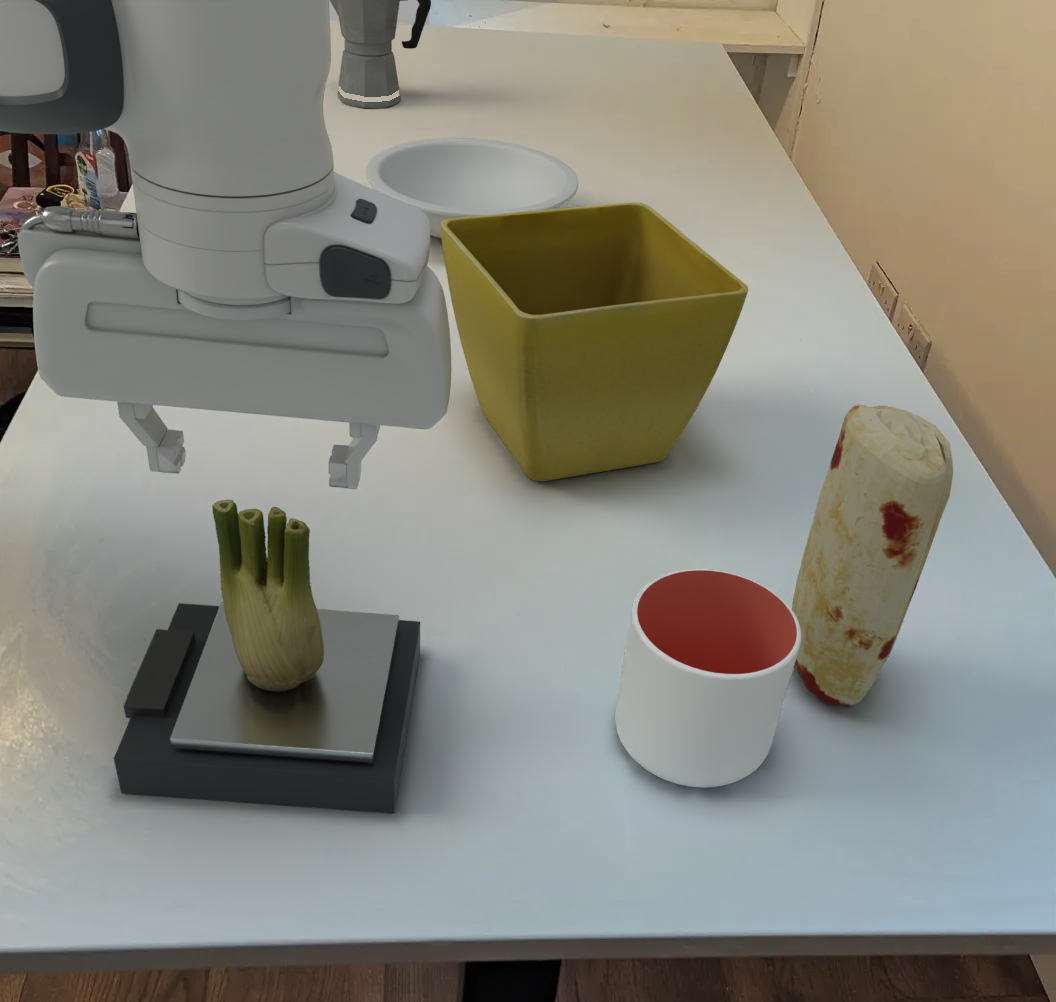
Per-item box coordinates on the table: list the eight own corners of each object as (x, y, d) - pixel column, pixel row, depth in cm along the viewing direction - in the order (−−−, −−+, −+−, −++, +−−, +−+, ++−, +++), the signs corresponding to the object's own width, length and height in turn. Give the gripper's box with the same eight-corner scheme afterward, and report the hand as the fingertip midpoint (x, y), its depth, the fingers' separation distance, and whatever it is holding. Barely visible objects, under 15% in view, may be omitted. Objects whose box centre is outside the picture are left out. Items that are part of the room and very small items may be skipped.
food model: (756, 634, 84) (819, 385, 72) (842, 625, 86) (919, 380, 73) (810, 731, 77) (891, 474, 64) (903, 720, 78) (1000, 466, 66)
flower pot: (432, 396, 107) (436, 216, 96) (621, 371, 113) (644, 198, 103) (508, 513, 94) (522, 318, 83) (717, 476, 100) (754, 291, 89)
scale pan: (171, 748, 68) (169, 738, 67) (222, 610, 77) (221, 601, 77) (373, 763, 68) (373, 754, 67) (399, 624, 77) (399, 614, 77)
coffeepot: (318, 105, 169) (312, -35, 157) (329, 86, 176) (324, -50, 165) (426, 114, 169) (427, -25, 157) (432, 94, 176) (434, -40, 165)
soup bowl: (408, 284, 125) (408, 224, 121) (340, 201, 141) (338, 145, 137) (608, 260, 133) (615, 202, 129) (522, 184, 150) (526, 131, 146)
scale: (112, 793, 69) (102, 749, 67) (176, 636, 80) (169, 594, 77) (394, 813, 69) (394, 771, 67) (420, 654, 80) (420, 613, 78)
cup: (784, 796, 72) (822, 677, 66) (624, 798, 71) (646, 678, 65) (748, 684, 80) (778, 567, 74) (602, 684, 79) (620, 566, 73)
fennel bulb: (219, 662, 72) (197, 500, 65) (287, 630, 75) (274, 471, 67) (271, 715, 69) (255, 551, 61) (340, 679, 72) (333, 518, 64)
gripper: (-17, 229, 52) (40, 490, 60) (450, 273, 52) (439, 525, 61) (35, 177, 56) (80, 426, 65) (461, 217, 57) (449, 459, 66)
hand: (257, 474), depth 63 cm, fingers open, 8 cm apart
